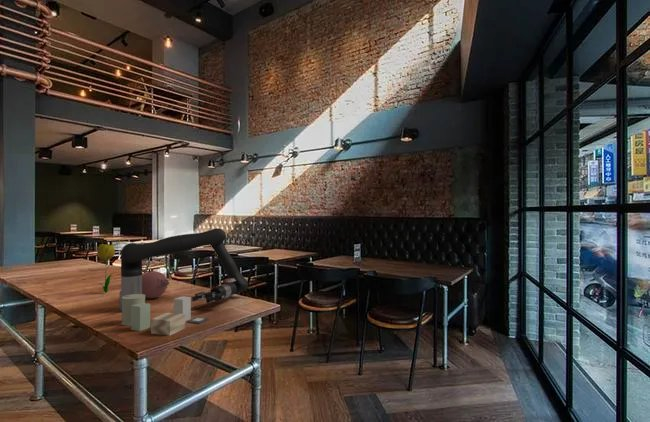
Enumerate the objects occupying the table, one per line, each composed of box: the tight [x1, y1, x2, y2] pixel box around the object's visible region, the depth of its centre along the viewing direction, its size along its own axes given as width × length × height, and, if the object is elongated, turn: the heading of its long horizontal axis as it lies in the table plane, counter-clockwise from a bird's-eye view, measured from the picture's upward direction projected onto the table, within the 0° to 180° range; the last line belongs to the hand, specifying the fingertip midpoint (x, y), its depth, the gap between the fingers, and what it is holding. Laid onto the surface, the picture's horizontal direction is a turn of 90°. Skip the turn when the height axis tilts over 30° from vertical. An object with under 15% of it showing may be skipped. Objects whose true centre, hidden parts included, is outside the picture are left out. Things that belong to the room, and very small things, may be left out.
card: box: [186, 316, 210, 325], centre depth 149 cm, size 7×6×1 cm
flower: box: [96, 243, 116, 294], centre depth 201 cm, size 9×8×30 cm
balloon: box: [142, 270, 170, 300], centre depth 189 cm, size 15×20×15 cm
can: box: [120, 294, 146, 327], centre depth 147 cm, size 9×9×12 cm
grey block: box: [173, 295, 192, 322], centre depth 151 cm, size 5×5×10 cm
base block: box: [150, 312, 186, 337], centre depth 137 cm, size 9×9×6 cm
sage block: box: [130, 302, 151, 332], centre depth 139 cm, size 5×5×10 cm
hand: (199, 299), depth 161 cm, fingers open, 8 cm apart
